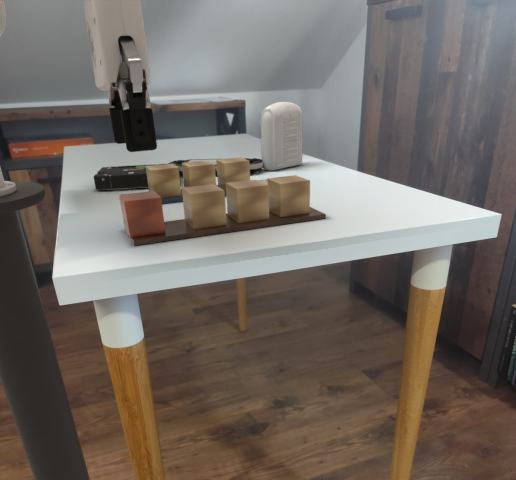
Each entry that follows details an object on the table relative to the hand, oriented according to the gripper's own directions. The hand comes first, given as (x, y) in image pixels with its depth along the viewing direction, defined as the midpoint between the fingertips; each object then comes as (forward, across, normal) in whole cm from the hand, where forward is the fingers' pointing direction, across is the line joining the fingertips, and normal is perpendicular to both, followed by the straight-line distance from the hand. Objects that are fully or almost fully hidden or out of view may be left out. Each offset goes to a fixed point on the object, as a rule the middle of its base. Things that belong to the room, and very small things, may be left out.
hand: (134, 146), depth 57 cm
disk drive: (+10, -36, +5) cm, 37 cm away
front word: (+11, 0, +11) cm, 15 cm away
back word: (+10, -20, +16) cm, 28 cm away
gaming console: (+10, -39, +21) cm, 46 cm away
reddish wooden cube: (+10, 0, 0) cm, 10 cm away
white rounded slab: (+11, -37, +35) cm, 52 cm away
